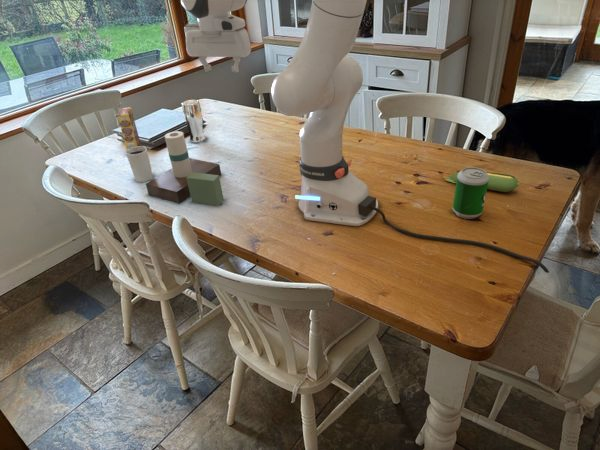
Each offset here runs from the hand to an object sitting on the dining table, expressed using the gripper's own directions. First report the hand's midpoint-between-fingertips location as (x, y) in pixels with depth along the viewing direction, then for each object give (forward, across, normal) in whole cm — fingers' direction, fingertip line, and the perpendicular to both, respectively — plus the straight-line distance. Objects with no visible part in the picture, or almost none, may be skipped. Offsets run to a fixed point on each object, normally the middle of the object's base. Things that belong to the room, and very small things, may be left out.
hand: (221, 71), depth 133 cm
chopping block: (+31, -9, -18) cm, 37 cm away
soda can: (+31, +76, -14) cm, 83 cm away
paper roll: (+25, -9, -22) cm, 35 cm away
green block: (+31, +3, -25) cm, 40 cm away
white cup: (+31, -26, -17) cm, 44 cm away
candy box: (+31, -45, +3) cm, 55 cm away
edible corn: (+31, +78, +1) cm, 84 cm away
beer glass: (+31, -26, +17) cm, 44 cm away
